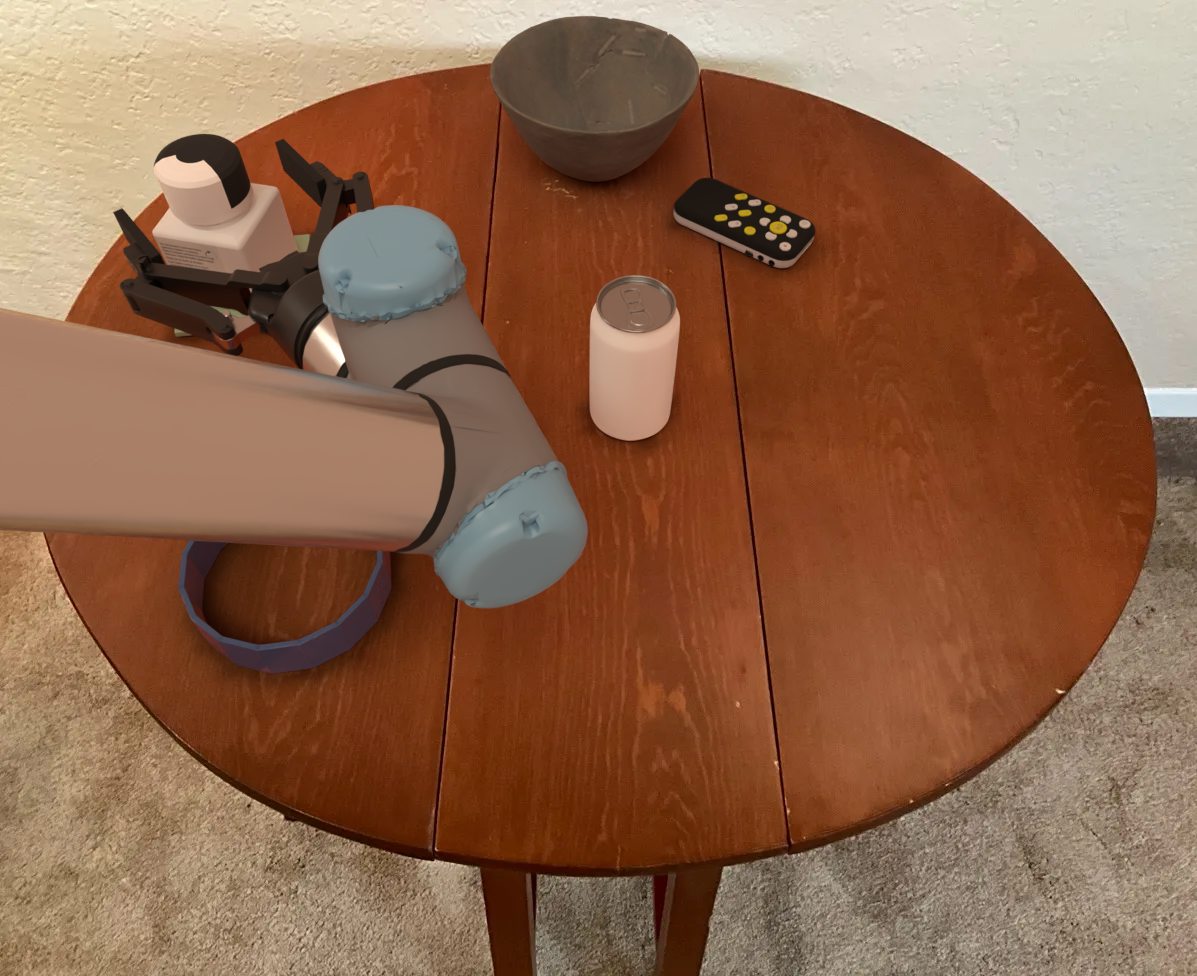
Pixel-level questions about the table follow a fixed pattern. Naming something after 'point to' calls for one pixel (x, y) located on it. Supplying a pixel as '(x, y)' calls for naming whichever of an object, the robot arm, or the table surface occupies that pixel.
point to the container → (217, 209)
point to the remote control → (744, 222)
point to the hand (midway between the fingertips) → (206, 188)
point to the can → (633, 357)
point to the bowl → (594, 92)
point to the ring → (287, 653)
